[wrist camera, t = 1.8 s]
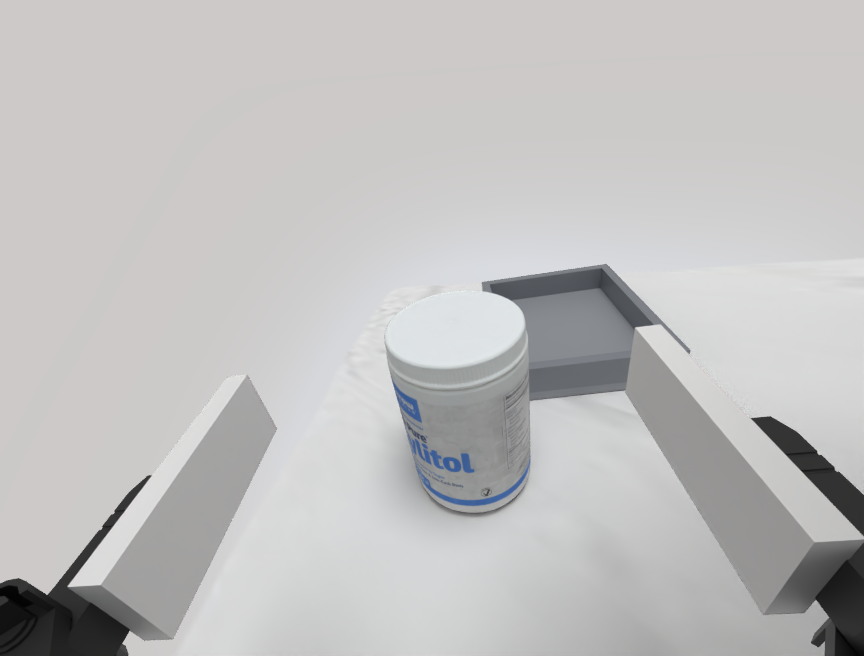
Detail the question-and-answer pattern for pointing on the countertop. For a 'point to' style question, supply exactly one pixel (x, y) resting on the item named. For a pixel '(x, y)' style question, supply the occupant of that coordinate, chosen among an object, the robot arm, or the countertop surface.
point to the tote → (577, 328)
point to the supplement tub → (464, 396)
